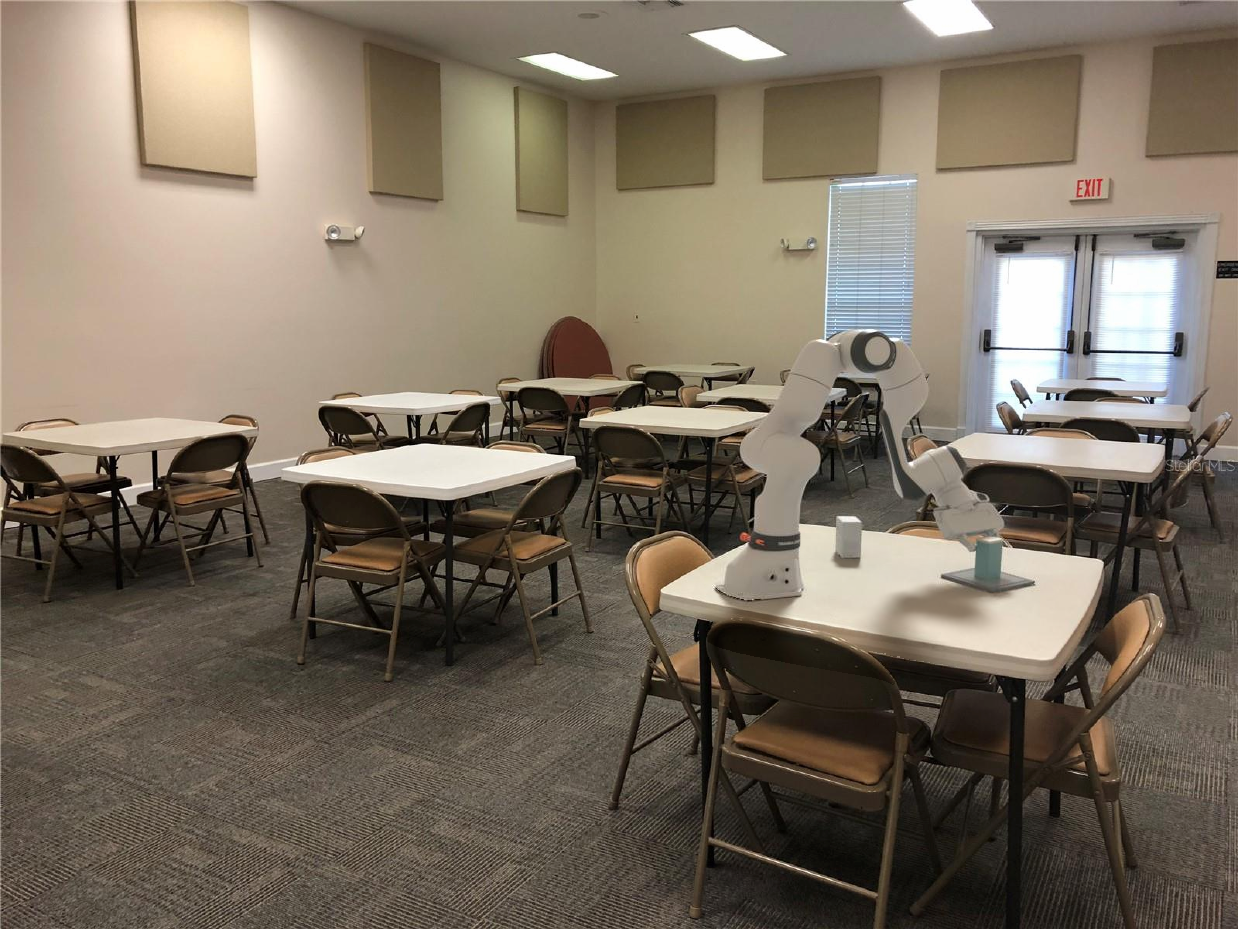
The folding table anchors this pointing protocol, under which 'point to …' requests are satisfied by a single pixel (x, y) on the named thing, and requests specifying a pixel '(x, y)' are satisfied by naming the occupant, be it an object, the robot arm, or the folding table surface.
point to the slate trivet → (992, 585)
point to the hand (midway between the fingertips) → (986, 548)
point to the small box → (848, 536)
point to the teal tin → (988, 558)
